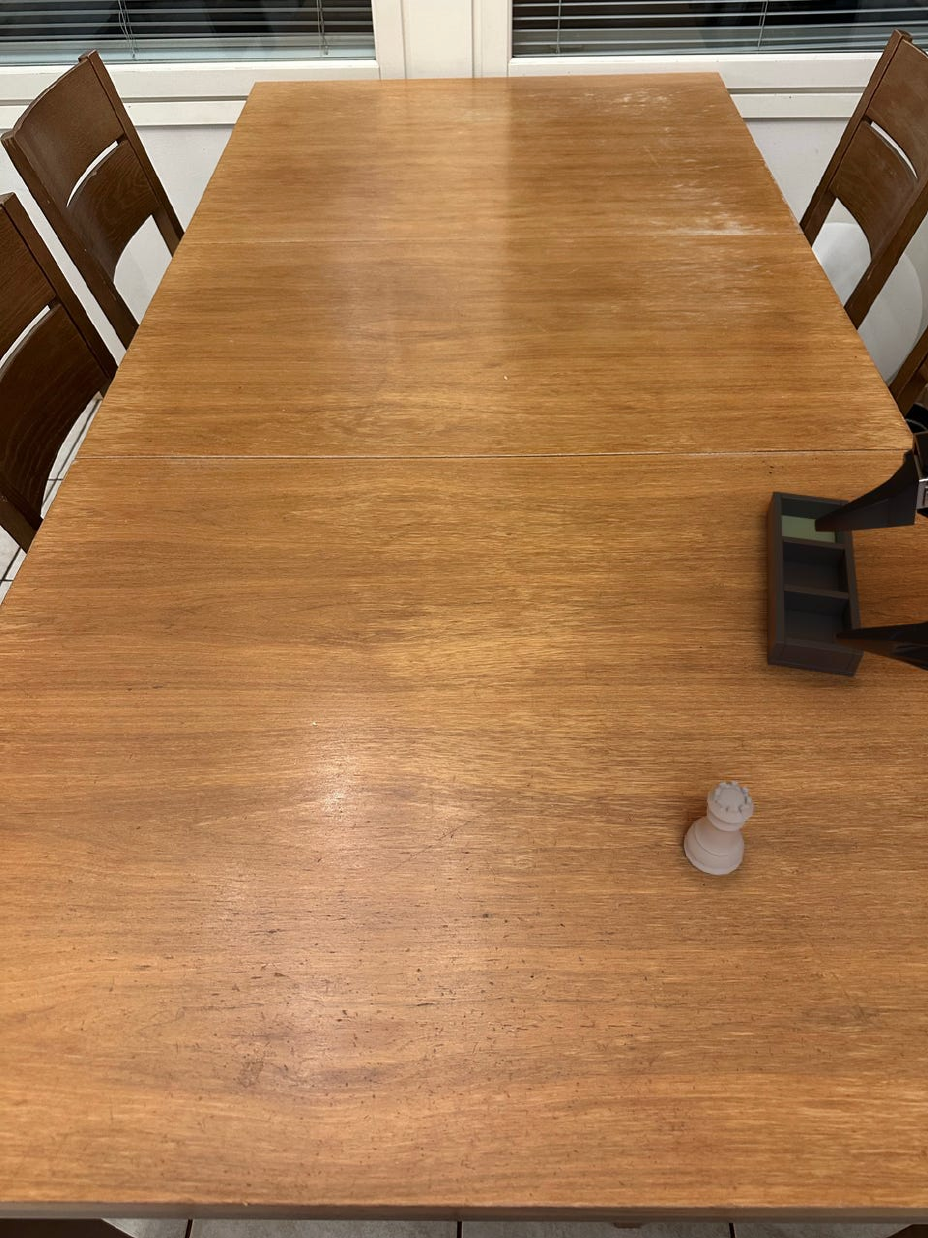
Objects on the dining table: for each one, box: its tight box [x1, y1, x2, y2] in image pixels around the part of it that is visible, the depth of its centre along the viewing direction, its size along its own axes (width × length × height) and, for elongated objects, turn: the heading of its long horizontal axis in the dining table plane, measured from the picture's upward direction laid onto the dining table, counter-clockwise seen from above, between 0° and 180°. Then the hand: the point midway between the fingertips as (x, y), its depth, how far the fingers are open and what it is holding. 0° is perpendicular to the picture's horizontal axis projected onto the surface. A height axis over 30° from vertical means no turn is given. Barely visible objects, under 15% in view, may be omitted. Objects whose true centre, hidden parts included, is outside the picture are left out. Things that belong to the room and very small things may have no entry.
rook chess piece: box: [683, 780, 755, 876], centre depth 69 cm, size 4×4×8 cm
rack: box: [765, 490, 865, 678], centre depth 90 cm, size 7×21×3 cm, turn 169°
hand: (824, 580), depth 67 cm, fingers open, 9 cm apart
